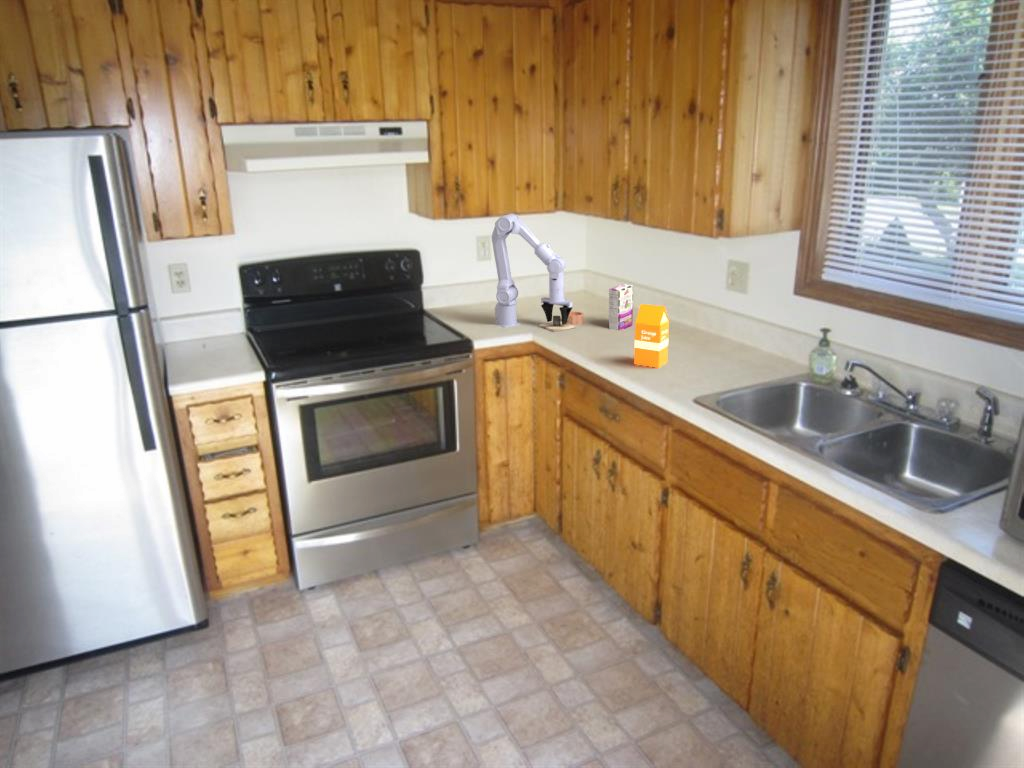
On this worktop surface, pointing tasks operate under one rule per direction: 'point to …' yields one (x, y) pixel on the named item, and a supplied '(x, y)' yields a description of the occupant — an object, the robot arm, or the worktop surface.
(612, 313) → the candy bar box
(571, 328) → the mat
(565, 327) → the lid
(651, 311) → the orange juice
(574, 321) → the bowl
